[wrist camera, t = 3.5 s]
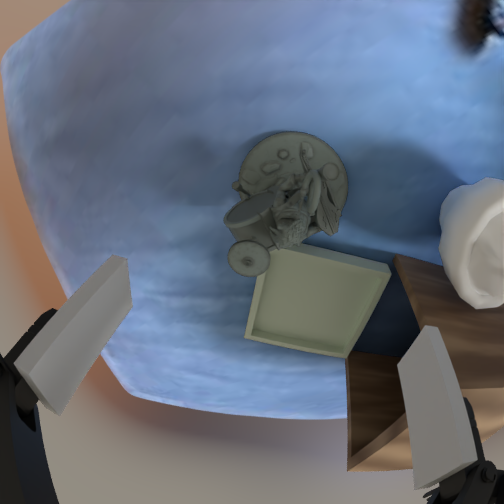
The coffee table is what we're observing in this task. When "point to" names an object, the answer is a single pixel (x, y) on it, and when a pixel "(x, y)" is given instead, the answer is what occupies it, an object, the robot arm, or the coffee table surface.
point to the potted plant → (475, 242)
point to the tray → (315, 299)
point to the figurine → (284, 198)
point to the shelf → (388, 380)
